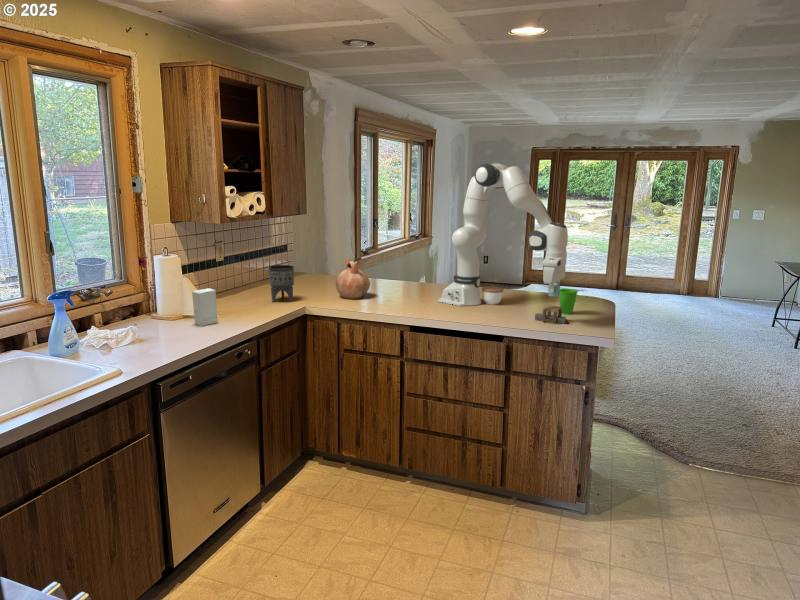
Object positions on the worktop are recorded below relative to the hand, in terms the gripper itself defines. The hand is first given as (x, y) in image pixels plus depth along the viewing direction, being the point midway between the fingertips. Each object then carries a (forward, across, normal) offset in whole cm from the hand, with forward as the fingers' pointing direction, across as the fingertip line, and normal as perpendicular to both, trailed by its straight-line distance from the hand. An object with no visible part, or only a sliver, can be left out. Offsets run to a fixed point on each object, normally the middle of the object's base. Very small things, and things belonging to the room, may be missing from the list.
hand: (554, 291), depth 250 cm
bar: (+14, +1, -1) cm, 14 cm away
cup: (+14, -19, +1) cm, 24 cm away
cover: (+14, 0, 0) cm, 14 cm away
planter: (+13, +36, -129) cm, 135 cm away
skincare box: (+13, +88, -124) cm, 153 cm away
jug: (+13, +8, -105) cm, 106 cm away
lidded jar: (+14, -19, -37) cm, 44 cm away
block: (+2, 0, 0) cm, 2 cm away
